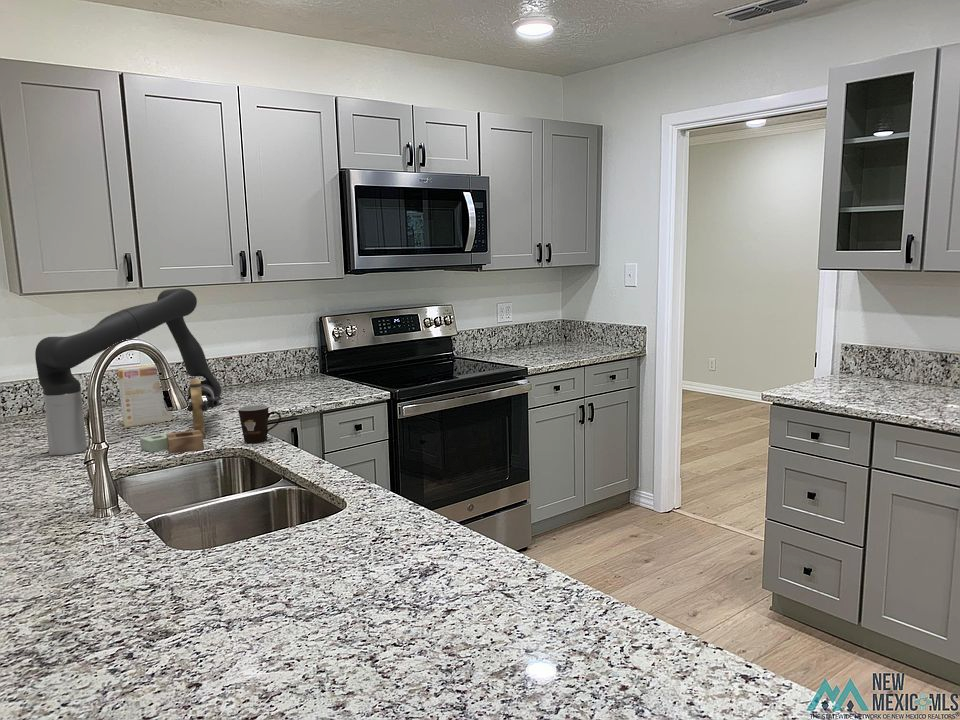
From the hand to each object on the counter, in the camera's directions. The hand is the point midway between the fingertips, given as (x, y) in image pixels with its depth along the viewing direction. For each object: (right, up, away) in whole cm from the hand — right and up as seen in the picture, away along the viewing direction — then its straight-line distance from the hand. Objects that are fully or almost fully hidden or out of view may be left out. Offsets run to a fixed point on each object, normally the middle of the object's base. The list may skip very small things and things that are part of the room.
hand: (196, 407), depth 214 cm
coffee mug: (+20, -10, -3) cm, 22 cm away
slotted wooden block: (0, -11, -8) cm, 14 cm away
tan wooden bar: (-1, -10, +4) cm, 10 cm away
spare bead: (-8, -11, -7) cm, 16 cm away
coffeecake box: (-29, -7, +31) cm, 43 cm away
